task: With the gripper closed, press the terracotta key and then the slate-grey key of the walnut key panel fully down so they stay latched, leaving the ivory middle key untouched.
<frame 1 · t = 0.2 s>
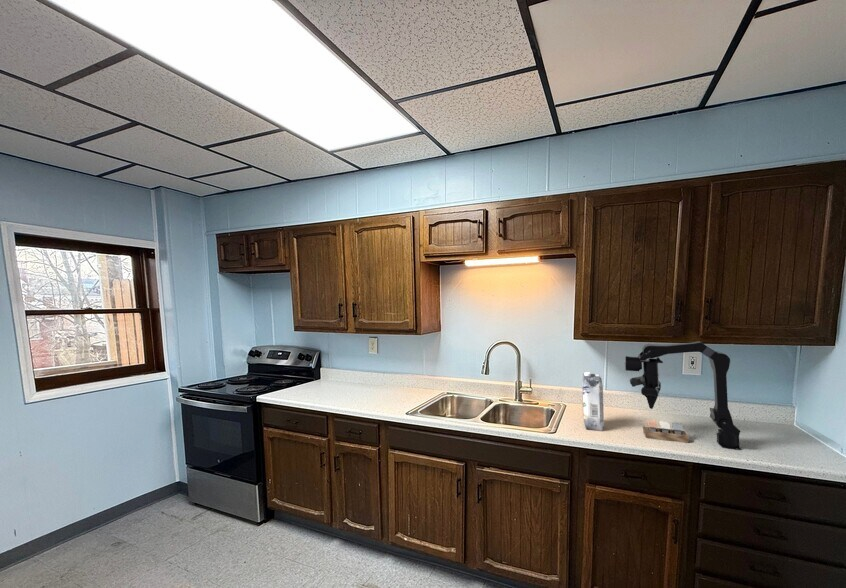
hand: (652, 405, 162), 14 cm above the worktop, fingers open, 9 cm apart
key terracotta: (652, 426, 162), point 4 cm above the worktop, slide at 0.0 cm
key ivory: (664, 428, 161), point 4 cm above the worktop, slide at 0.0 cm
key slate: (677, 429, 159), point 4 cm above the worktop, slide at 0.0 cm
juice carton: (593, 427, 175), on the worktop
key panel: (665, 437, 161), on the worktop
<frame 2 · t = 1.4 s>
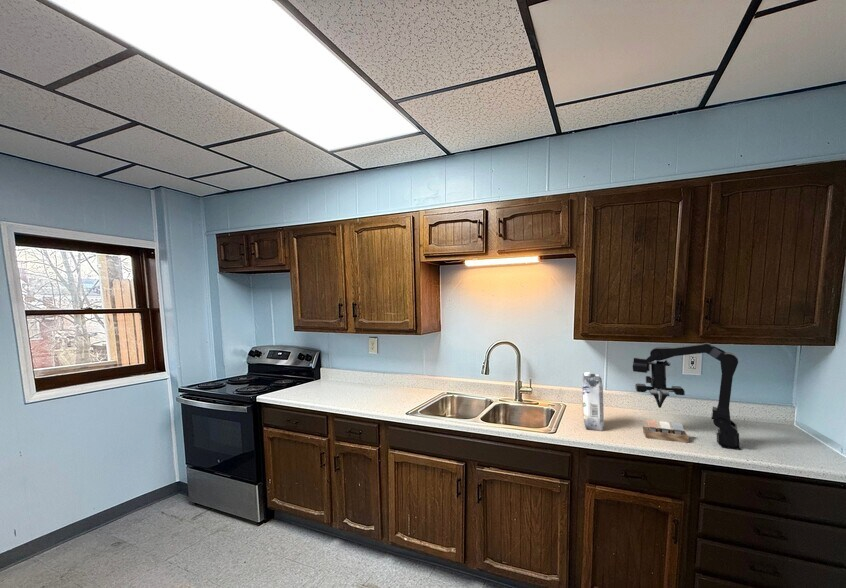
hand: (659, 407, 166), 12 cm above the worktop, fingers closed
nothing on the worktop moved.
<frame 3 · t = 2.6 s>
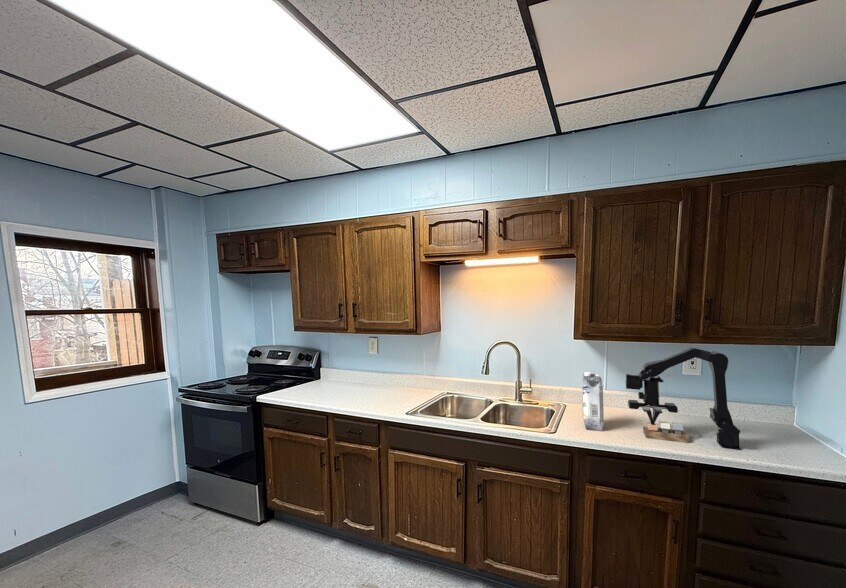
hand: (652, 424, 162), 5 cm above the worktop, fingers closed, pressing on key terracotta
key terracotta: (652, 429, 162), point 3 cm above the worktop, slide at 1.4 cm, touching gripper
everything else where it was.
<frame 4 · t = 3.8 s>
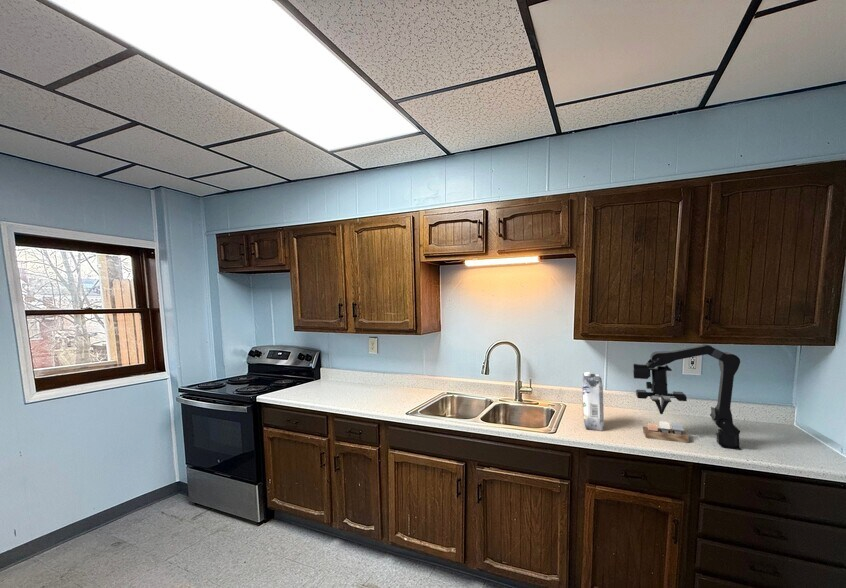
hand: (661, 414, 161), 11 cm above the worktop, fingers closed
key terracotta: (652, 430, 162), point 3 cm above the worktop, slide at 1.5 cm
everything else where it was.
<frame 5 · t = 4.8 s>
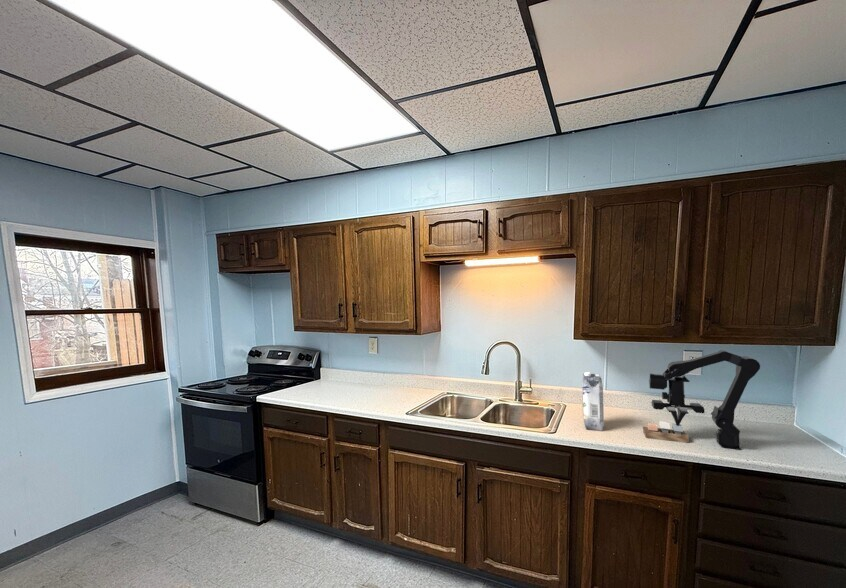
hand: (677, 425, 159), 6 cm above the worktop, fingers closed, pressing on key slate
key slate: (677, 430, 159), point 4 cm above the worktop, slide at 0.5 cm, touching gripper
everything else where it was.
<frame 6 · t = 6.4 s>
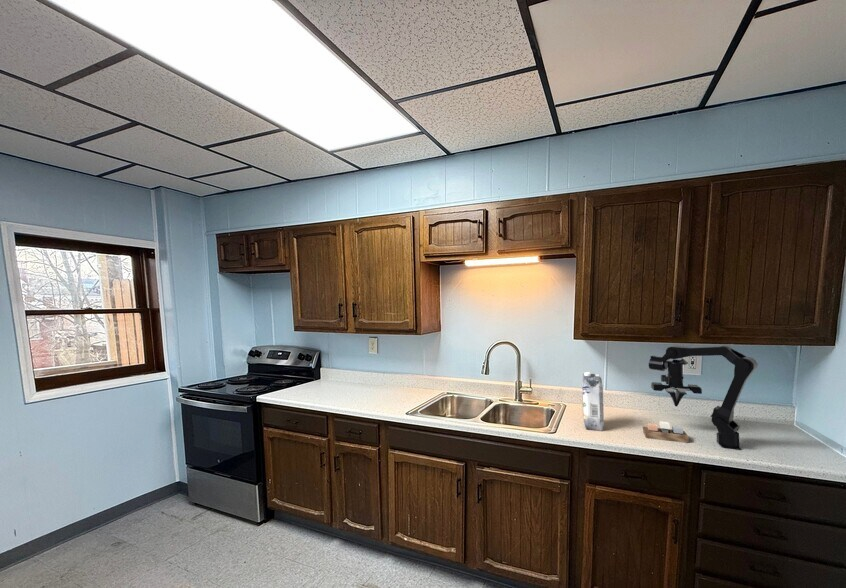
hand: (676, 406, 165), 13 cm above the worktop, fingers closed
key slate: (677, 432, 159), point 3 cm above the worktop, slide at 1.5 cm
everything else where it was.
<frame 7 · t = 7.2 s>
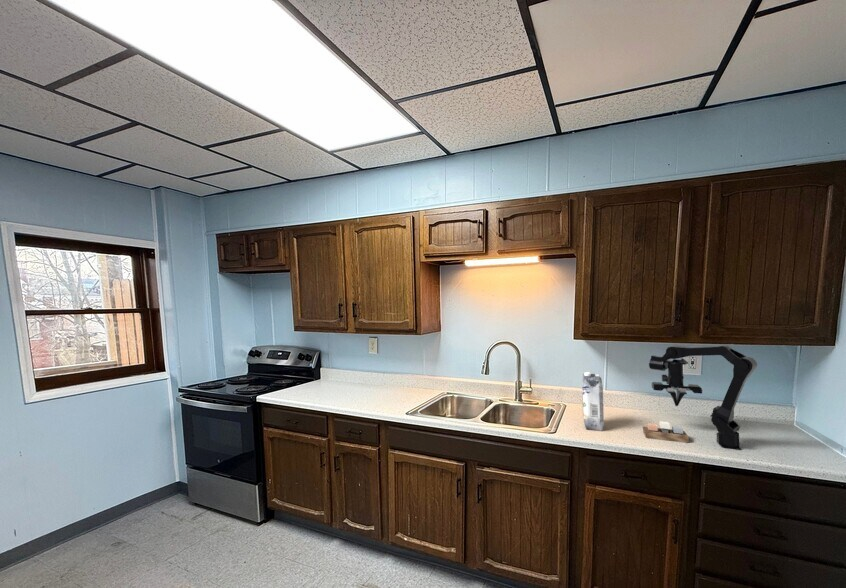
hand: (676, 405, 166), 12 cm above the worktop, fingers closed
nothing on the worktop moved.
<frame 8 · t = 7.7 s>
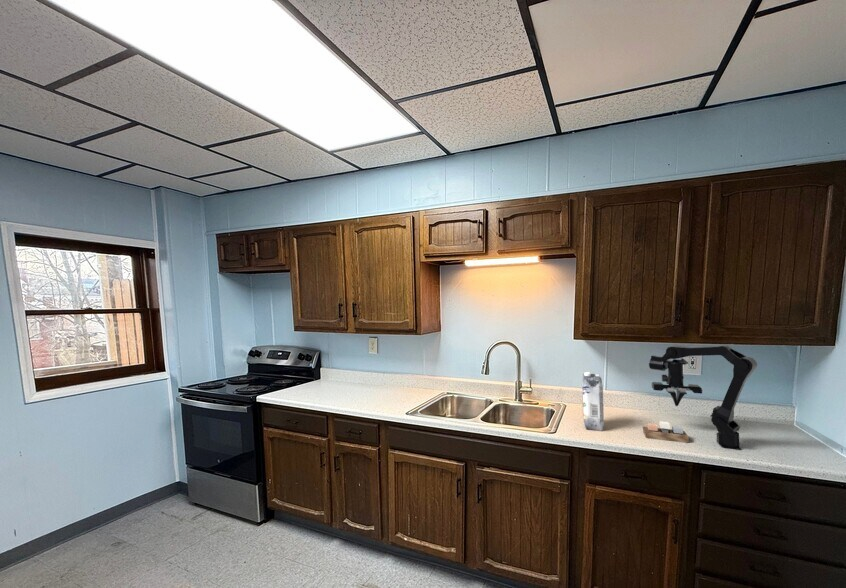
hand: (676, 405, 166), 12 cm above the worktop, fingers closed
nothing on the worktop moved.
at the end: key terracotta slide at 1.5 cm; key slate slide at 1.5 cm; key ivory slide at 0.0 cm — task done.
